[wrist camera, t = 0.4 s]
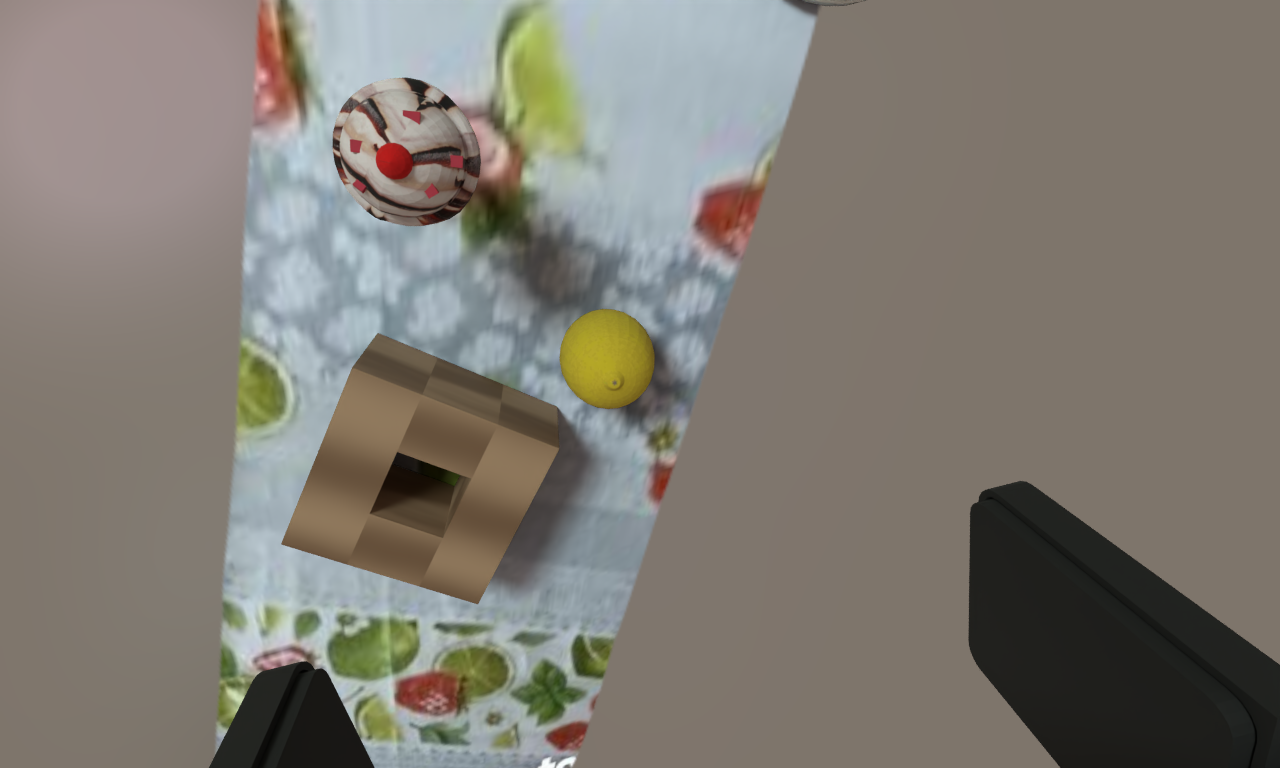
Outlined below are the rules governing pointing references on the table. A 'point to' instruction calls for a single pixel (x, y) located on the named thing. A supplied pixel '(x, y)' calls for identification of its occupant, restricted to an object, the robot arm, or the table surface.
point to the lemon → (607, 358)
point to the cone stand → (413, 503)
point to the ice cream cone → (406, 152)
